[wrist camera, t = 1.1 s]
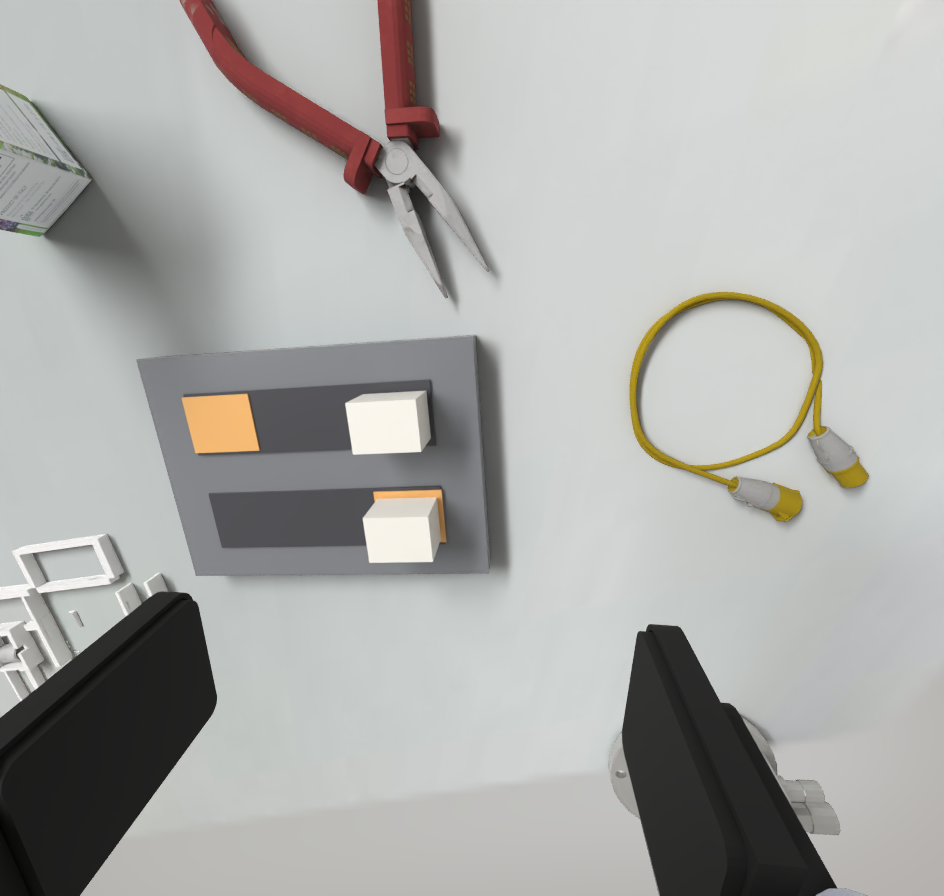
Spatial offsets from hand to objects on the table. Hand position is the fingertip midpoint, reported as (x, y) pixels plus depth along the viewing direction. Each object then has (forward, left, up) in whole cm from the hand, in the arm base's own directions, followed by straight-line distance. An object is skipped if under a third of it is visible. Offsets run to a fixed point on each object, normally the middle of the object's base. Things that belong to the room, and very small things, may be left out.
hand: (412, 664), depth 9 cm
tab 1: (+5, -1, -19) cm, 20 cm away
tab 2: (+5, +6, -19) cm, 20 cm away
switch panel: (+11, +2, -22) cm, 24 cm away
